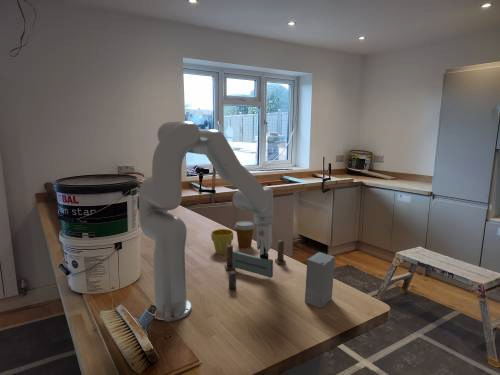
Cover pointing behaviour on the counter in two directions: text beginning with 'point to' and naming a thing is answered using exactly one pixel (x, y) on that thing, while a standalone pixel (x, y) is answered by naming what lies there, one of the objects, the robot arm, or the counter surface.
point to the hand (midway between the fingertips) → (264, 263)
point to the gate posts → (230, 267)
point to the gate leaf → (253, 264)
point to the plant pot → (222, 240)
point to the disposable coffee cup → (244, 233)
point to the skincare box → (319, 279)
